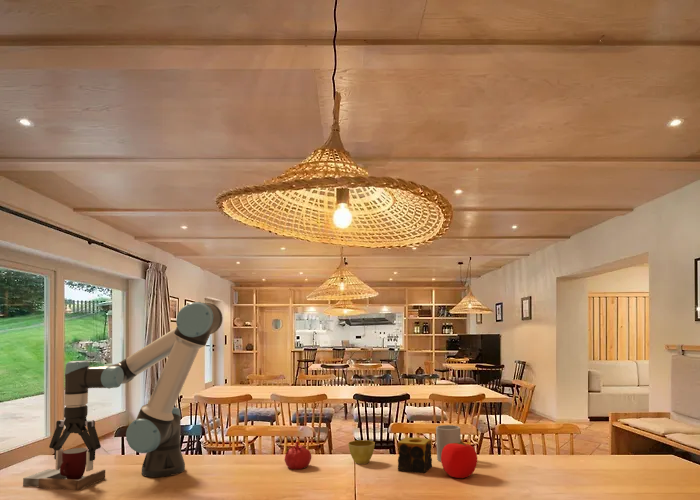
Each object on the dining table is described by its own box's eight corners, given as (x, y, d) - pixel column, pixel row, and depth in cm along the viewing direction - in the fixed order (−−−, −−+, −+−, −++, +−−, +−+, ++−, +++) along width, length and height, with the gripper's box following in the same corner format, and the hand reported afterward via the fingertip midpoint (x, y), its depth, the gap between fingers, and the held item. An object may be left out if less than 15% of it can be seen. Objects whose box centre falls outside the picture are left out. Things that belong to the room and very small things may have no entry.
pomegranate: (316, 466, 221) (316, 440, 222) (300, 472, 212) (300, 445, 213) (295, 462, 226) (295, 437, 227) (278, 468, 218) (279, 442, 219)
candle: (397, 471, 210) (396, 442, 211) (405, 464, 220) (404, 436, 221) (425, 473, 207) (424, 444, 208) (432, 466, 216) (431, 438, 217)
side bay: (106, 478, 210) (106, 469, 210) (78, 490, 196) (78, 480, 196) (50, 475, 215) (50, 466, 215) (19, 486, 201) (19, 477, 201)
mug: (73, 486, 200) (74, 455, 201) (52, 485, 201) (52, 455, 202) (92, 476, 210) (92, 448, 211) (71, 476, 211) (71, 447, 212)
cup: (434, 457, 229) (433, 425, 230) (457, 456, 230) (456, 424, 231) (440, 463, 220) (439, 430, 221) (464, 462, 221) (463, 429, 222)
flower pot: (375, 465, 219) (375, 445, 220) (348, 466, 219) (347, 446, 220) (374, 459, 229) (374, 439, 230) (348, 459, 229) (348, 440, 230)
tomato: (436, 479, 198) (435, 444, 200) (445, 469, 211) (444, 436, 212) (473, 483, 194) (472, 447, 195) (480, 472, 207) (479, 438, 208)
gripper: (112, 404, 209) (111, 468, 207) (54, 403, 214) (52, 465, 212) (98, 407, 202) (97, 473, 199) (39, 406, 207) (37, 471, 205)
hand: (74, 469), depth 206 cm, fingers open, 11 cm apart
